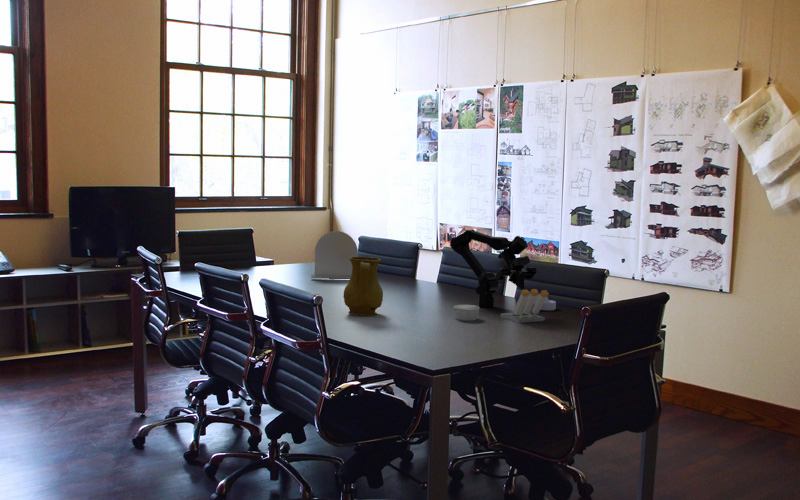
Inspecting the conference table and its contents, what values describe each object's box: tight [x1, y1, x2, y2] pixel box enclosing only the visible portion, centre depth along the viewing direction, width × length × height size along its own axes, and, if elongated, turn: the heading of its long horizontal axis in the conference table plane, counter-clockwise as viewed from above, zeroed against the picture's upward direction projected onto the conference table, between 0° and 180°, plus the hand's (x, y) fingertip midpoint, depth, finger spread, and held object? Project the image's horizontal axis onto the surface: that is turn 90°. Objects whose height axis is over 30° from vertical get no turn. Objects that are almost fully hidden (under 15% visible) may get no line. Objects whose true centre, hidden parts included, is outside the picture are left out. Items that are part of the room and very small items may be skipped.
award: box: [310, 230, 359, 279], centre depth 428 cm, size 28×9×28 cm, turn 97°
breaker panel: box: [500, 311, 546, 324], centre depth 325 cm, size 14×13×2 cm
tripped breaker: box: [530, 289, 550, 315], centre depth 321 cm, size 2×3×13 cm
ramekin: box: [453, 304, 481, 322], centre depth 322 cm, size 11×11×5 cm
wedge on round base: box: [526, 293, 557, 311], centre depth 350 cm, size 9×7×13 cm
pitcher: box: [343, 256, 384, 317], centre depth 326 cm, size 17×19×25 cm
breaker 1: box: [513, 289, 530, 316], centre depth 317 cm, size 2×3×13 cm
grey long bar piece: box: [522, 288, 540, 315], centre depth 319 cm, size 2×3×13 cm
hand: (523, 289), depth 331 cm, fingers closed
